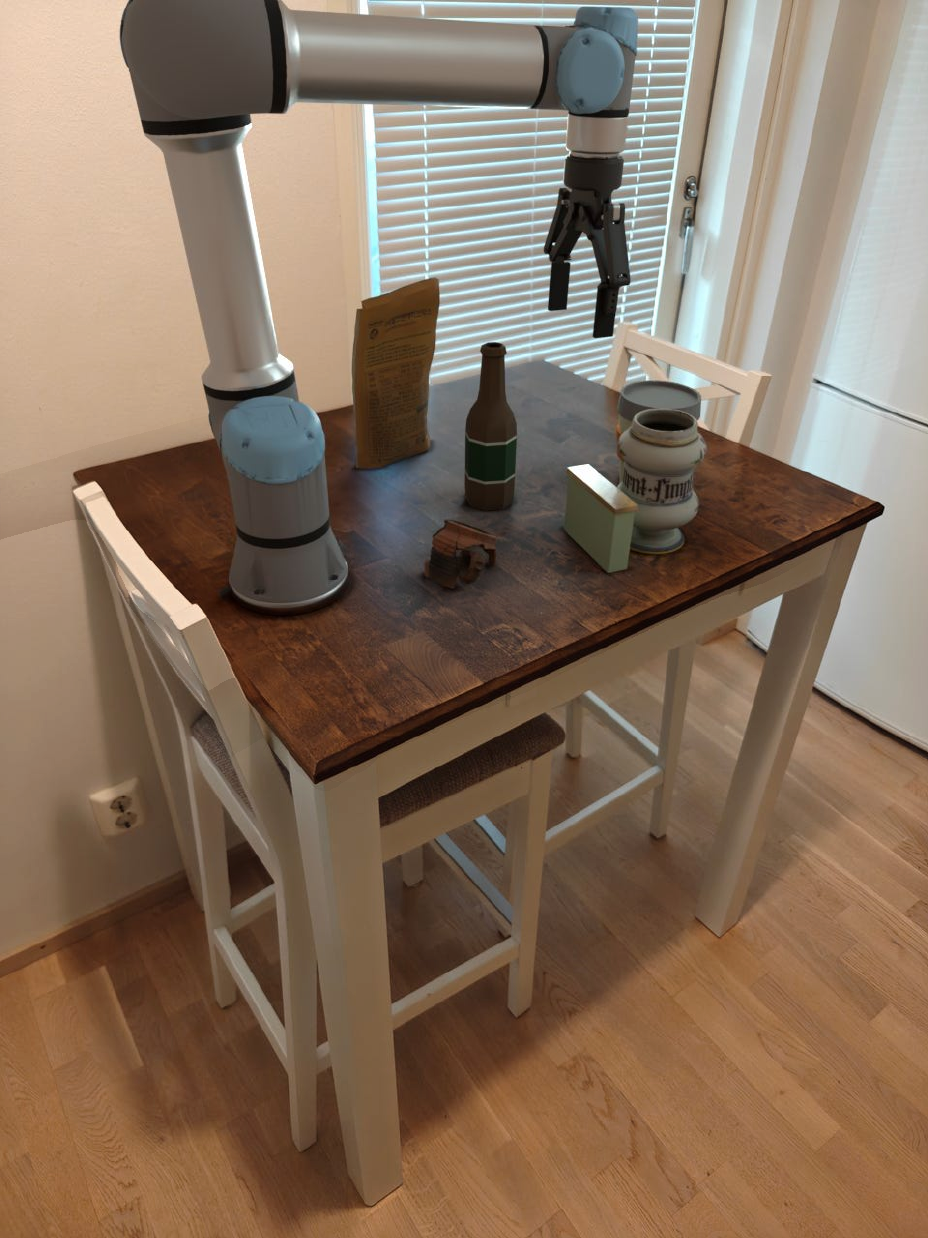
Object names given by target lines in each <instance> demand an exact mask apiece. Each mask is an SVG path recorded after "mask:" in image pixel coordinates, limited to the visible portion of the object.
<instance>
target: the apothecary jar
mask: <svg viewBox="0 0 928 1238" xmlns="http://www.w3.org/2000/svg"><path fill="white" fill-rule="evenodd" d="M698 427H699V426H698V420H696V418H695V417H693V416H692V415H690V414H688V413H686V412H683V411H679V410H673V409H648V410H644V411H642V412H639V413H638V414H636V415H635V417H634V419H633V423H632V425H631V427H630V428H628V429H627V430H625V431H624V432H623V434H622V435H621V436H620V438H619V441H618V450H619V453H620V455H621V456H622V458H623V459H624V460H625V464H624V473H623V480H622V482H621V483H620V482H619V484H618V485H617V486H616V487H617V488H618V489H619V490H620V491H622V492H623V493H624V494H625V495H626V496H628V497H629V498H630V499H631V500H632V501H634V502H635V503H636V504H637V505H638V509H637V510H636V511H635V514H634V521H633V529H632V536H631V543H630V551H633V552H637V553H641V554H645V555H646V554H647V555H666V554H670V553H674V552H676V551H679V549H680V548H682V546H683V545H684V544H685V536H684V533H683V532H682V530H681V529H680V528H681V527H683V526H685V525H687V524H688V523H689V522H691V521H692V520H694V518H695V517H696V515H697V513H698V511H699V508H700V507H699V505H700V504H699V503H700V502H699V497H698V495H697V493H696V492H695V490H694V489H693V482H694V474H695V468H696V467H698V466H699V465H701V463H702V462H703V461H704V460H705V458H706V455H707V451H708V449H707V448H708V447H707V443H706V441H705V439H704V437H703V436H702V435H701V433H699V432H698V431H699V430H698Z"/></svg>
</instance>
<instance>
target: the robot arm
mask: <svg viewBox="0 0 928 1238" xmlns="http://www.w3.org/2000/svg"><path fill="white" fill-rule="evenodd" d="M575 14H576V15H575V19H574V22H573V25H565V26H559V25H558V26H556V25H539V24H537V25H536V24H523V23H522V24H521V23H507V22H505V23H504V22H489V21H475V20H462V19H461V20H458V19H444V18H443V19H442V18H427V17H412V16H396V15H394V16H393V15H381V14H380V15H379V14H378V15H377V14H366V13H365V14H364V13H363V14H362V13H347V12H335V11H334V12H333V11H317V10H303V9H302V10H301V9H291V8H289V7H288V6H287V4H286V3H285V2H284V1H283V0H128V1H127V2H126V5H125V8H124V9H123V11H122V15H121V19H120V24H119V25H120V26H119V43H120V50H121V54H122V58H123V61H124V63H125V66H126V67H127V69H128V72H129V75H130V80H131V84H132V88H133V92H134V98H135V101H136V105H137V109H138V113H139V118H140V123H141V127H142V131H143V135H144V137H145V138H147V140H149V141H150V142H151V143H152V144H154V145H155V146H156V147H157V148H159V149H160V151H161V152H162V153H163V154H162V155H163V159H164V164H165V168H166V172H167V176H168V180H169V185H170V190H171V195H172V198H173V203H174V208H175V211H176V216H177V221H178V225H179V229H180V233H181V238H182V242H183V246H184V251H185V255H186V260H187V265H188V269H189V270H188V271H189V273H190V274H189V275H190V278H191V282H192V287H193V291H194V296H195V300H196V304H197V309H198V313H199V318H200V322H201V327H202V331H203V335H204V339H205V344H206V349H207V353H208V357H209V362H210V363H209V364H208V365H207V367H206V368H205V370H204V371H203V373H201V382H202V386H203V390H204V395H205V399H206V404H207V408H208V423H209V427H210V430H211V434H212V435H213V437H214V439H215V441H216V444H217V447H218V450H219V453H220V456H221V460H222V463H223V466H224V469H225V472H226V475H227V480H228V486H229V492H230V498H231V504H232V511H233V517H234V521H235V522H234V523H235V531H236V541H235V545H234V550H233V555H232V559H231V564H230V569H229V574H228V582H229V584H228V585H227V586H225V587H223V588H222V589H221V590H219V591H218V595H219V596H220V598H221V599H224V598H226V597H227V596H229V595H230V594H231V596H232V598H233V600H235V602H236V603H238V604H239V605H240V606H241V607H243V608H245V609H247V610H249V611H252V612H254V613H259V614H263V615H270V616H295V615H300V614H306V613H310V612H314V611H316V610H320V609H323V608H325V607H326V606H329V605H331V604H332V603H334V602H335V601H337V600H338V599H339V598H340V597H341V596H343V594H344V593H345V592H346V590H347V588H348V586H349V582H350V581H349V578H350V577H349V567H348V562H347V560H346V558H347V559H348V558H349V555H348V554H349V553H348V547H346V545H345V544H344V543H343V541H342V540H341V539H340V538H338V541H337V539H336V536H335V534H334V532H333V530H332V527H331V519H330V518H331V517H330V507H329V506H330V505H329V493H328V481H327V469H326V456H325V451H326V440H325V433H324V431H323V428H322V423H321V420H320V418H319V416H318V414H317V413H316V411H315V410H314V409H313V408H311V407H310V406H309V405H308V404H306V403H304V402H302V401H300V398H299V393H298V386H297V381H296V376H295V370H294V364H293V363H292V362H291V361H290V360H289V358H287V357H285V356H284V355H282V354H281V353H280V351H279V347H278V341H277V336H276V330H275V325H274V319H273V313H272V308H271V301H270V297H269V292H268V286H267V280H266V274H265V269H264V263H263V258H262V257H263V256H262V252H261V247H260V241H259V236H258V229H257V224H256V218H255V212H254V208H253V202H252V195H251V189H250V185H249V184H250V183H249V180H248V179H249V178H248V174H247V167H246V162H245V156H244V151H243V150H244V149H243V146H242V145H243V141H244V139H246V136H247V135H248V133H249V131H250V130H251V128H252V127H253V124H252V123H253V122H252V117H251V115H261V114H263V115H264V114H267V115H268V114H271V115H285V114H287V113H288V111H289V110H290V109H291V107H292V106H293V105H295V104H296V103H305V104H307V103H310V104H343V105H344V104H346V105H382V106H383V105H384V106H386V105H387V106H420V107H423V106H424V107H451V108H452V107H456V108H460V107H461V108H489V109H490V108H493V109H500V108H501V109H524V110H525V109H527V110H528V109H529V110H541V111H542V110H544V111H545V110H546V111H567V123H566V135H565V138H566V140H565V149H566V150H567V151H569V153H568V154H566V156H565V157H564V164H563V178H562V179H563V180H562V181H563V182H562V183H563V185H564V187H559V189H558V195H557V200H556V201H557V202H556V207H555V210H554V213H553V216H552V219H551V223H550V226H549V230H548V232H547V236H546V239H545V243H544V246H543V253H544V255H548V260H549V262H551V263H550V274H549V275H550V276H549V278H550V279H549V288H548V289H549V292H548V301H547V302H548V303H547V311H549V312H556V311H566V310H568V309H567V308H568V300H569V299H568V297H569V287H570V276H571V275H570V274H571V265H572V263H571V262H570V261H572V256H571V254H572V252H573V250H574V249H575V246H576V244H577V243H578V241H579V239H580V237H581V236H582V234H584V235H586V239H587V240H588V241H590V242H591V247H592V251H593V255H594V259H595V263H596V266H597V270H598V271H597V272H598V275H599V279H600V283H599V284H598V285H597V286H596V287H597V290H596V297H595V298H596V300H595V310H594V318H593V329H592V338H594V339H604V338H612V337H614V329H615V320H616V313H617V310H618V309H617V308H618V301H619V291H620V289H621V288H622V287H626V286H630V284H631V282H632V281H631V271H630V260H629V251H628V243H627V235H626V225H625V220H626V204H625V203H624V202H617V203H612V194H613V192H614V191H617V190H619V189H620V188H621V186H622V184H623V183H622V181H623V171H624V164H625V159H624V158H623V156H622V155H620V154H621V153H623V152H624V151H625V150H626V143H627V142H626V141H627V133H628V132H627V131H628V130H629V124H628V121H629V115H630V107H631V100H632V92H633V91H632V90H633V82H634V75H635V73H634V72H635V66H636V65H635V64H636V59H637V58H636V57H637V56H638V34H639V16H638V13H637V12H636V11H635V10H634V8H631V7H624V6H623V7H619V6H618V7H617V6H615V7H614V6H612V7H611V6H580V7H579V8H578V9H577V11H576V13H575ZM344 555H345V556H346V558H345V556H344Z"/></svg>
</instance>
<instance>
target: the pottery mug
mask: <svg viewBox="0 0 928 1238" xmlns="http://www.w3.org/2000/svg"><path fill="white" fill-rule="evenodd" d="M443 523H444V525H443V526H442V527H441V528H439V529H438V530H436V531H435V532H434V533H433V534H432V538H433V540H432V541H431V544H432V547H431V550H430V555H429V556H430V557H429V558H426V559H425V561H424V573H423V574H424V576H425V577H426V578H427V579H429V580H431V581H433V583H436V584H438V585H440V586H443V587H446V588H448V589H450V590H451V589H452V590H454V589H455V587H456V583H457V582H458V580H459V581H460V582H461V583H463V584H465V585H470V584H473V583H476V582H477V580H478V579H479V577H480V576H481V575H482V573H483V571H484V568H485V566H486V561H487V560H486V559H488V561H487V562H488V563H487V564H488V566H489V567H494V566H496V562H497V548H496V545H495V543H496V541H497V536H495V535H494V534H492V533H491V532H489V531H486V530H483V529H481V528H478V527H476V526H473V525H470V524H467V523H463V522H461V521H458V520H454V519H449V518H447V519H445V520H444V521H443ZM457 551H460V554H461V556H458V557H457ZM485 553H486V554H487V555H488V558H487V557H486V554H485Z"/></svg>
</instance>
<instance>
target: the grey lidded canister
mask: <svg viewBox="0 0 928 1238" xmlns="http://www.w3.org/2000/svg"><path fill="white" fill-rule="evenodd" d="M701 405H702V395H701V394H700V392H699V391H697V390H696V389H695V388H693V387H690V386H688V385H686V384H682V383H678V382H674V381H668V380H659V379H658V380H657V379H655V380H653V379H652V380H651V379H648V380H647V379H646V380H638V381H633V382H630V383H627V384H625V385H624V386H622V388H621V389H620V393H619V397H618V401H617V406H616V411H617V413H618V423H617V424H616V428H615V429H616V430H615V431H616V432H615V434H616V435H615V437H616V439H615V440H616V442H615V443H616V455H617V458H618V460H619V461H618V462H619V465H618V466H619V484H620V483H621V482H622V480H623V473H624V464H625V460H624V459H623V458H622V456H621V455H620V453H619V450H618V441H619V438H620V436H621V435H622V434H623V432H624V431H625V430H627V429H628V428H630V427H631V425H632V423H633V419H634V417H635V415H636V414H638V413H639V412H642V411H644V410H648V409H673V410H679V411H683V412H686V413H688V414H690V415H692V416H693V417H695V418H696V420H697V421H699V420H700V418H701V409H702V408H701V407H702V406H701Z"/></svg>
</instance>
